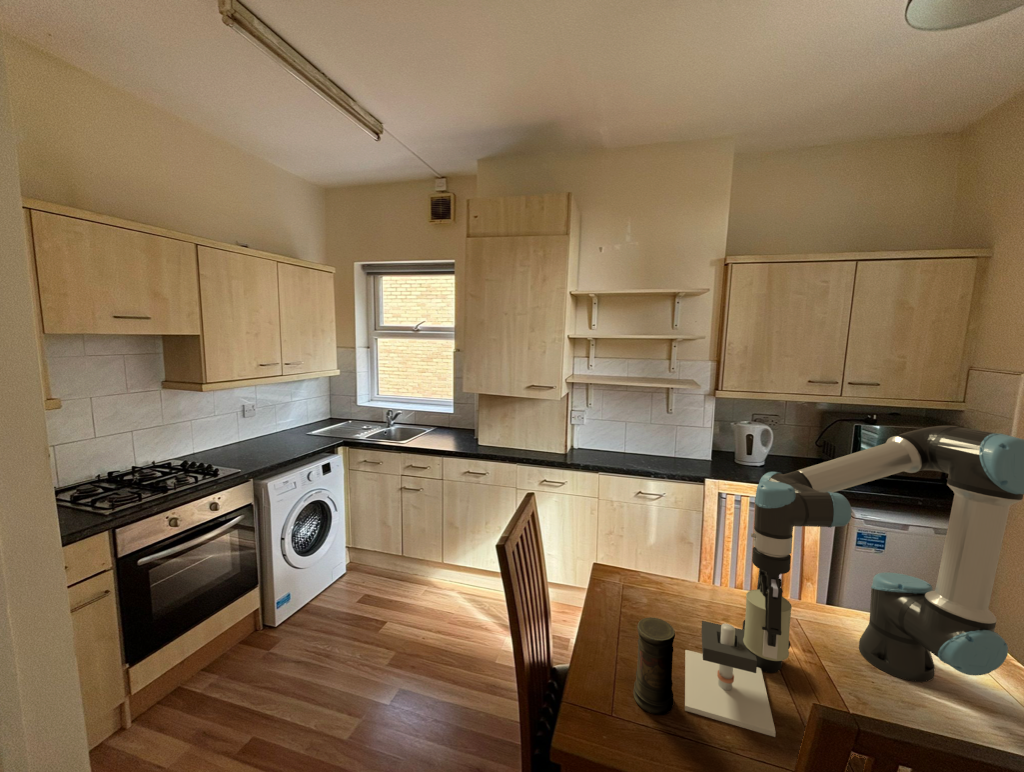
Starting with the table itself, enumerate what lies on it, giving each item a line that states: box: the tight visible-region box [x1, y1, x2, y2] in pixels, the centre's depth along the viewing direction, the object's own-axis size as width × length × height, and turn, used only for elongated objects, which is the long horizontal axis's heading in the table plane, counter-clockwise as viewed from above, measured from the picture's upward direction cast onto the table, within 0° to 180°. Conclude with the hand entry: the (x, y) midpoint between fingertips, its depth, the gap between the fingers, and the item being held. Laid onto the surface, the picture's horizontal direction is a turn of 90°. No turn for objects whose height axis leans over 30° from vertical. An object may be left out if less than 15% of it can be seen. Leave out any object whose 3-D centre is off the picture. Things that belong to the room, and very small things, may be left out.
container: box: [633, 616, 676, 716], centre depth 102 cm, size 9×9×18 cm
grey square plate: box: [701, 620, 757, 673], centre depth 104 cm, size 11×11×3 cm
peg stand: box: [684, 623, 776, 738], centre depth 105 cm, size 18×20×16 cm
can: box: [743, 589, 793, 662], centre depth 101 cm, size 9×9×12 cm
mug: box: [742, 619, 791, 674], centre depth 115 cm, size 9×12×9 cm
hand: (766, 643), depth 101 cm, fingers closed on can, 9 cm apart
